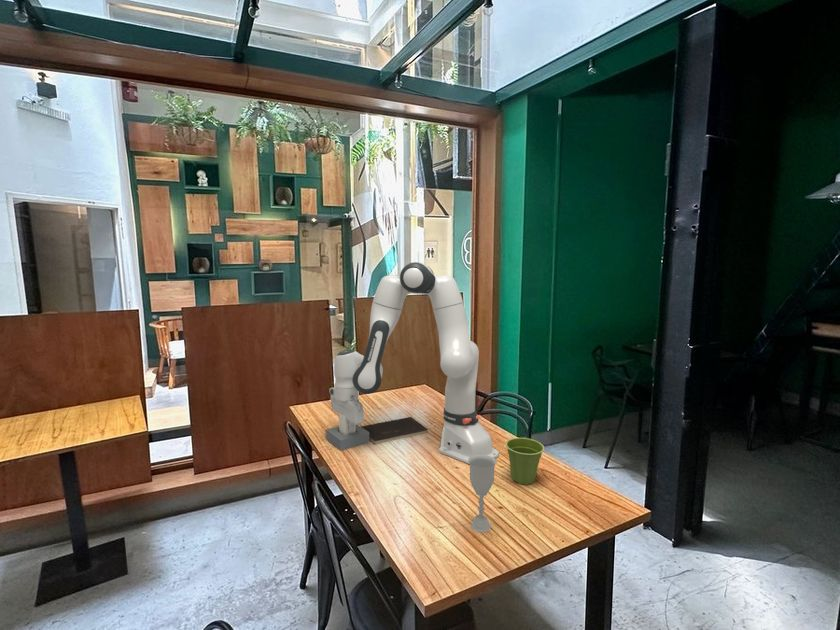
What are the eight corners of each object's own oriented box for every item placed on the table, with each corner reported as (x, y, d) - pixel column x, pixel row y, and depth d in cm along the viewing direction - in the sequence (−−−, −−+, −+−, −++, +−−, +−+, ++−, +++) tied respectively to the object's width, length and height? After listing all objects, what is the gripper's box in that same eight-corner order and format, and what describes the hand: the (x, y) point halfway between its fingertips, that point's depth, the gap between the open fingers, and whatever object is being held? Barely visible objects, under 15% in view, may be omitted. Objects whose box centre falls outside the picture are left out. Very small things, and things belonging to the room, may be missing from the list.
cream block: (355, 441, 163) (355, 413, 162) (345, 444, 161) (344, 416, 159) (350, 437, 167) (349, 410, 166) (339, 440, 164) (339, 412, 163)
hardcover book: (428, 434, 171) (428, 429, 171) (374, 446, 161) (374, 440, 160) (410, 421, 185) (410, 416, 185) (359, 431, 175) (359, 425, 174)
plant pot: (515, 491, 129) (516, 456, 127) (498, 472, 140) (499, 439, 138) (550, 486, 132) (552, 451, 130) (530, 468, 143) (531, 435, 142)
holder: (369, 442, 163) (369, 432, 162) (340, 450, 156) (340, 440, 155) (354, 432, 172) (353, 422, 172) (326, 439, 165) (326, 429, 165)
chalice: (492, 518, 115) (493, 454, 113) (497, 534, 109) (499, 466, 106) (465, 518, 115) (466, 454, 113) (468, 534, 108) (469, 467, 106)
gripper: (368, 398, 155) (368, 435, 157) (342, 385, 171) (342, 418, 173) (352, 401, 151) (353, 439, 153) (327, 388, 168) (328, 422, 169)
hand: (347, 428), depth 163 cm, fingers closed on cream block, 4 cm apart
